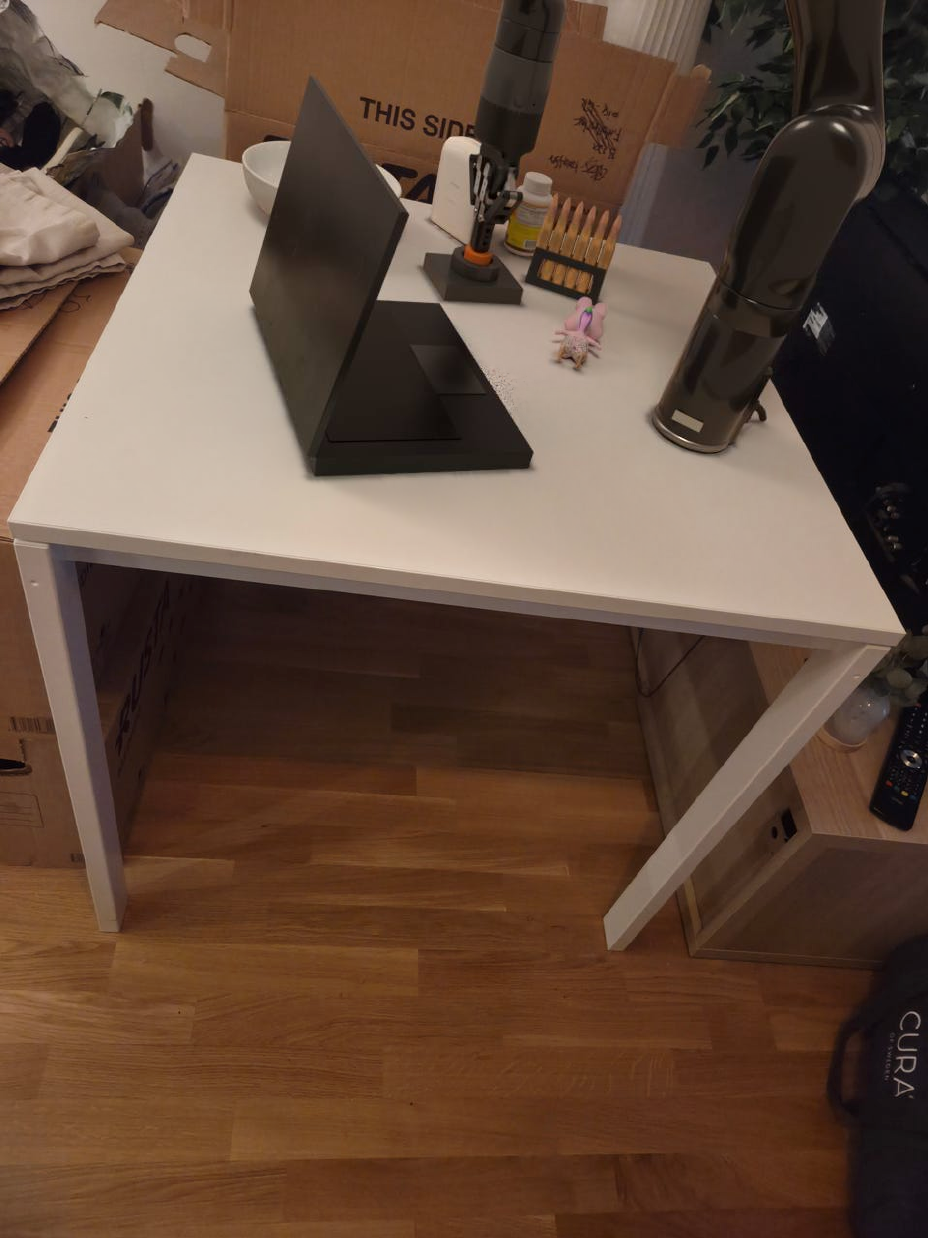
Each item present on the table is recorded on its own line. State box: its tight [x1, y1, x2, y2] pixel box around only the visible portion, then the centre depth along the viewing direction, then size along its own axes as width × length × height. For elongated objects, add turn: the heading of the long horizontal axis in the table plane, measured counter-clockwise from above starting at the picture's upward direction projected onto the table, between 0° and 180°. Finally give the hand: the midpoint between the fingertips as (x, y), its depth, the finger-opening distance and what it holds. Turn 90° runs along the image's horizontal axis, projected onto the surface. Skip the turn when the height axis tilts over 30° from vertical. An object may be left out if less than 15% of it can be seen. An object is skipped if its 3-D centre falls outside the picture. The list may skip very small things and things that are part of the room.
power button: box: [464, 244, 493, 265], centre depth 103 cm, size 4×4×2 cm
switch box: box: [422, 245, 524, 306], centre depth 104 cm, size 11×9×4 cm
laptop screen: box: [248, 75, 410, 458], centre depth 72 cm, size 22×30×1 cm
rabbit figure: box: [554, 297, 608, 371], centre depth 99 cm, size 6×6×15 cm
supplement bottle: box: [503, 171, 554, 257], centre depth 115 cm, size 6×6×10 cm
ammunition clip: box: [524, 192, 623, 307], centre depth 107 cm, size 11×2×12 cm, turn 76°
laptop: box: [307, 299, 535, 477], centre depth 84 cm, size 22×30×2 cm
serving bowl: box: [241, 140, 403, 216], centre depth 106 cm, size 21×21×7 cm
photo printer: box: [430, 135, 481, 246], centre depth 113 cm, size 10×4×12 cm, turn 39°
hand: (478, 249), depth 102 cm, fingers closed
